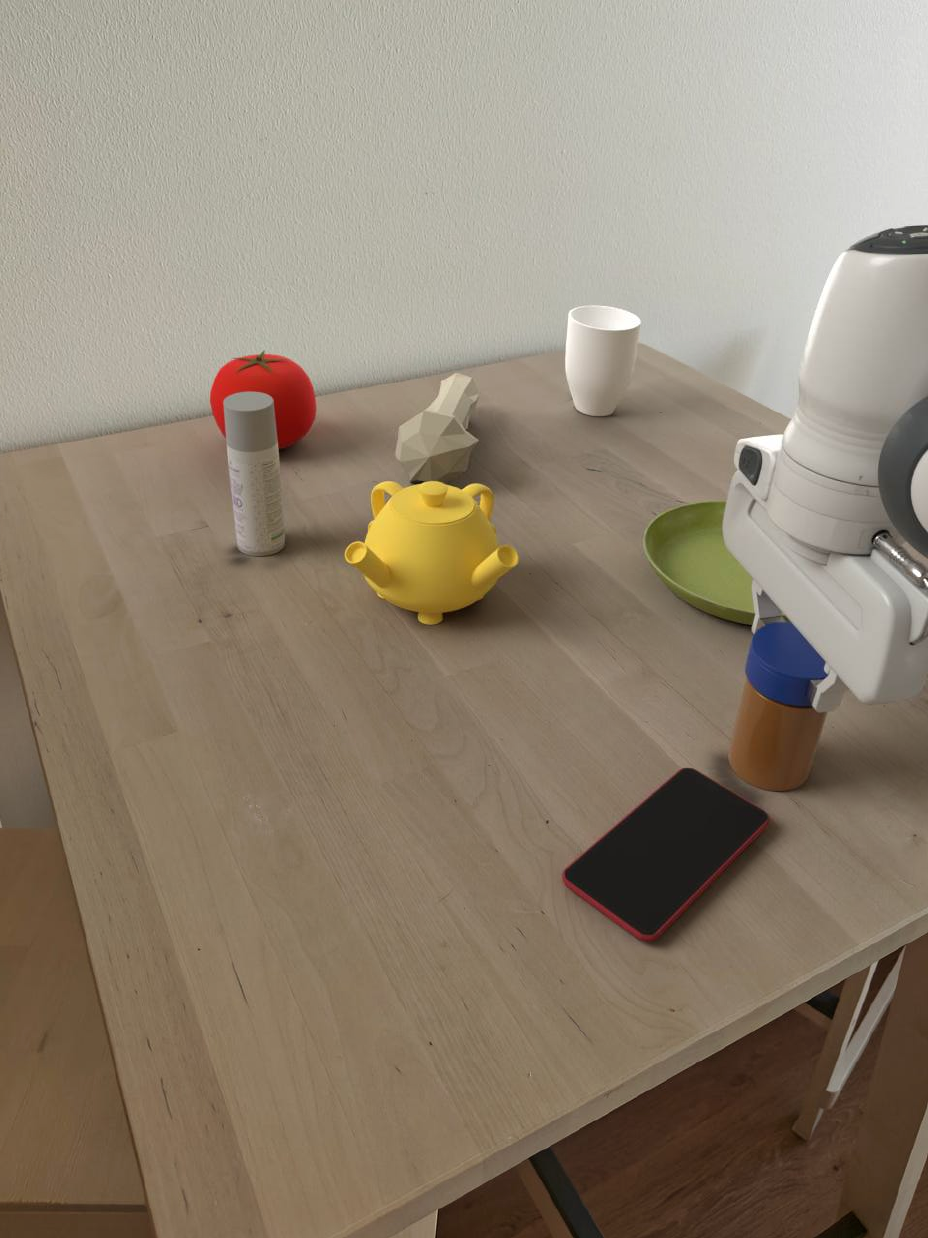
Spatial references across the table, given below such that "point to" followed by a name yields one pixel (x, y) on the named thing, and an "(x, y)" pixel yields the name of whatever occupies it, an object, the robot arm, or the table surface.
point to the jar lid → (783, 663)
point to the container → (254, 472)
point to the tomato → (269, 392)
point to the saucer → (700, 561)
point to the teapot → (431, 547)
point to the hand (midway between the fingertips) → (791, 669)
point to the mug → (600, 357)
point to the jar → (774, 741)
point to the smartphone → (665, 853)
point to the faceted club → (440, 433)
